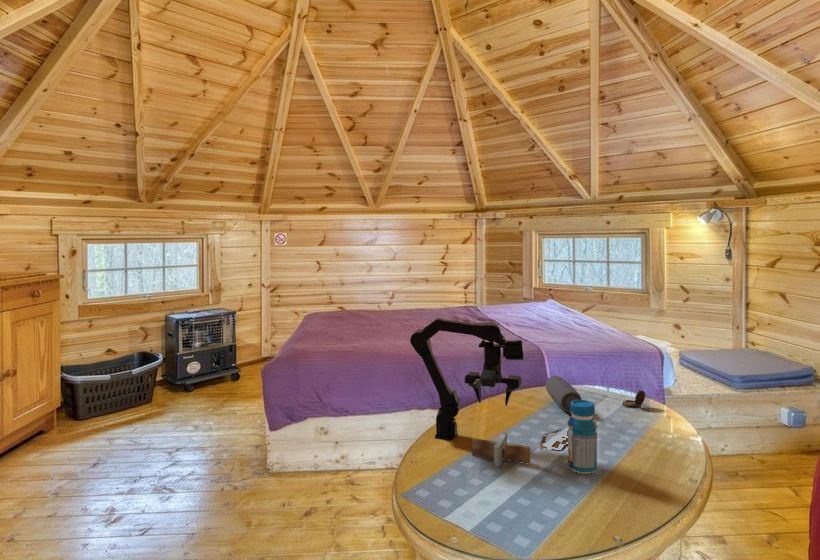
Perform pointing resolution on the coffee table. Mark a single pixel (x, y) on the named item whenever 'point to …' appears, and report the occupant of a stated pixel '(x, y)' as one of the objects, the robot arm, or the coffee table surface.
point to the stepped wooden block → (510, 453)
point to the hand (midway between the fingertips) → (493, 404)
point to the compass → (639, 400)
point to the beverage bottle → (582, 437)
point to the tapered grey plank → (499, 448)
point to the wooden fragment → (555, 442)
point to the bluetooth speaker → (561, 392)
